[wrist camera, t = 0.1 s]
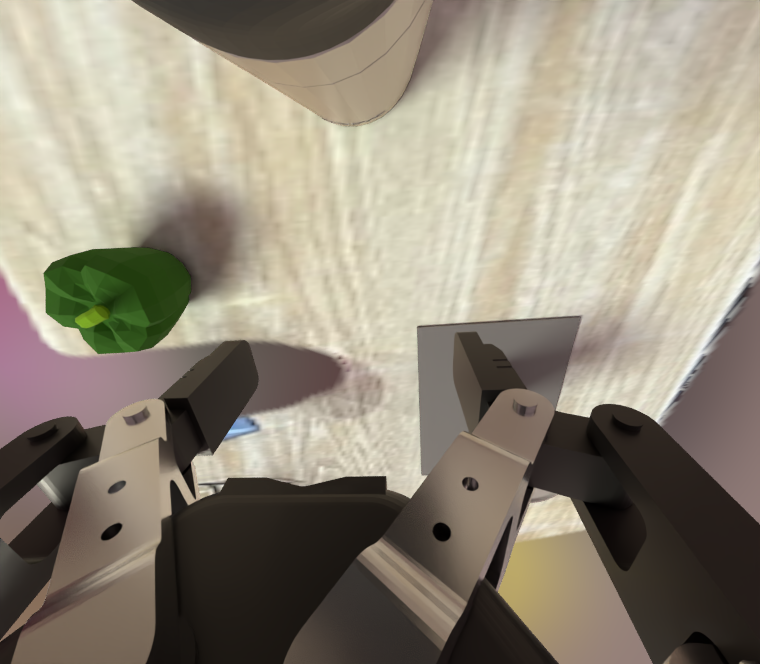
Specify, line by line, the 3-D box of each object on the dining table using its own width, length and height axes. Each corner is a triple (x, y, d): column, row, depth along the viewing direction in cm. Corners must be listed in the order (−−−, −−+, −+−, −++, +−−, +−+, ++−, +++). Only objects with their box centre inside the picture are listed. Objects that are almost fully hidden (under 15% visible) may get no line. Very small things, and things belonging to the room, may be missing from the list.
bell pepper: (141, 318, 31) (46, 379, 22) (101, 237, 27) (-35, 273, 18) (220, 316, 31) (154, 377, 22) (192, 233, 27) (97, 269, 18)
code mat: (417, 326, 31) (417, 327, 30) (579, 316, 30) (580, 317, 29) (421, 474, 43) (421, 475, 42) (537, 470, 42) (538, 471, 41)
